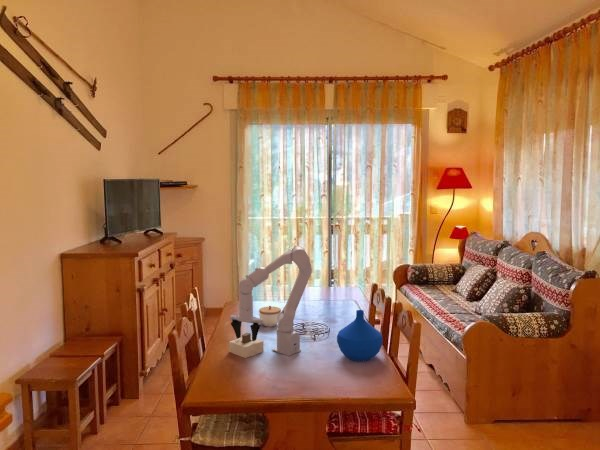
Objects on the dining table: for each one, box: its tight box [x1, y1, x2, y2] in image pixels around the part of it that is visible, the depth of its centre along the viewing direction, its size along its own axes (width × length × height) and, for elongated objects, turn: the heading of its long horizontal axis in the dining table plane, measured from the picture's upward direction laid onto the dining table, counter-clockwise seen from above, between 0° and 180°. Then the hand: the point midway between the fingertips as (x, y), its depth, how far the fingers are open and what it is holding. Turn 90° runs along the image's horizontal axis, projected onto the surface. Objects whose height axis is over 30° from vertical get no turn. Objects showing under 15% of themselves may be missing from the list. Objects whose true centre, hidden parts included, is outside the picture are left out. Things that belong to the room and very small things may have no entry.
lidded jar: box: [258, 305, 282, 328], centre depth 233 cm, size 11×11×9 cm
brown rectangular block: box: [241, 332, 252, 344], centre depth 197 cm, size 2×4×7 cm, turn 155°
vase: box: [336, 309, 384, 363], centre depth 191 cm, size 18×18×19 cm
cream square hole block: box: [228, 336, 264, 359], centre depth 197 cm, size 10×10×4 cm
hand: (246, 339), depth 197 cm, fingers open, 7 cm apart
